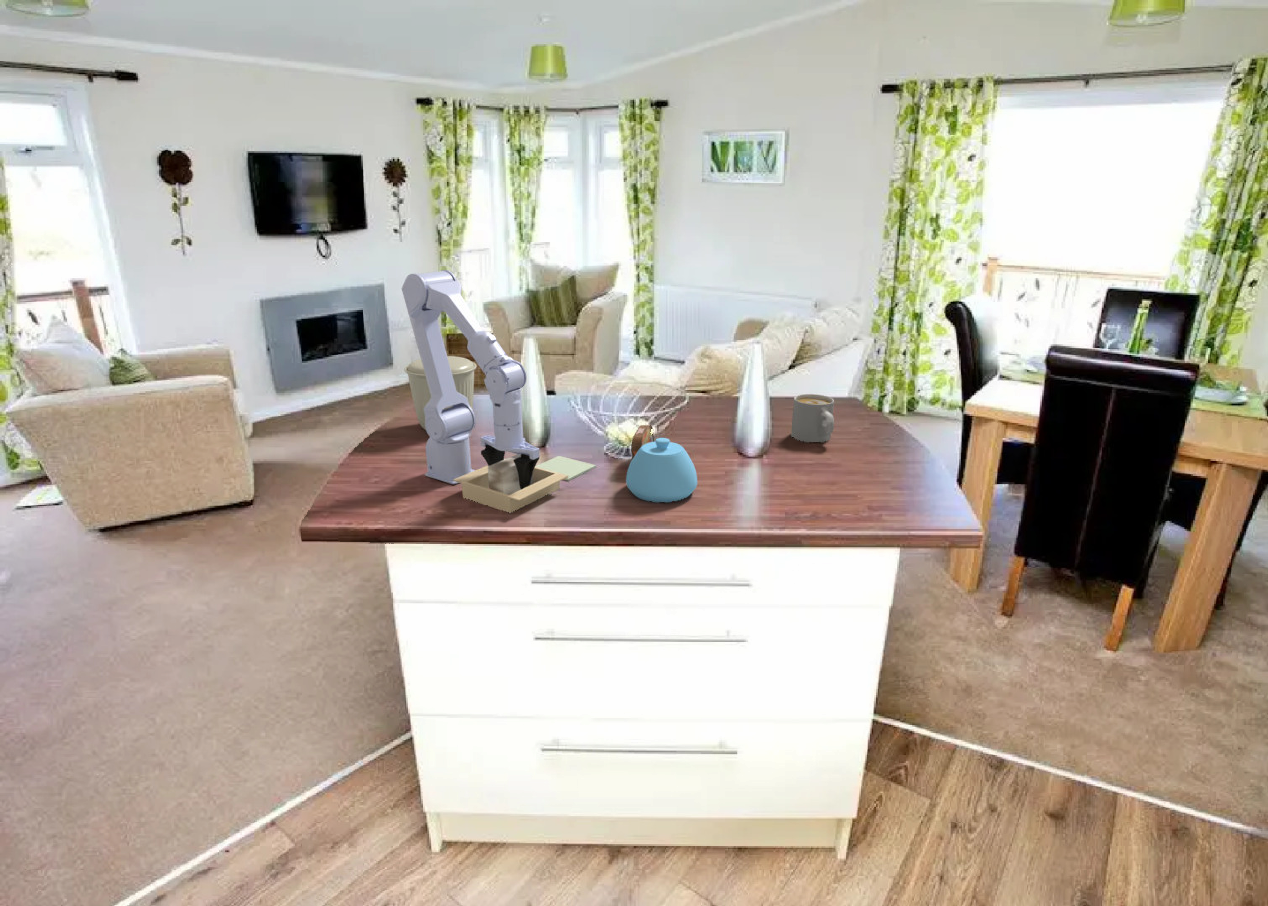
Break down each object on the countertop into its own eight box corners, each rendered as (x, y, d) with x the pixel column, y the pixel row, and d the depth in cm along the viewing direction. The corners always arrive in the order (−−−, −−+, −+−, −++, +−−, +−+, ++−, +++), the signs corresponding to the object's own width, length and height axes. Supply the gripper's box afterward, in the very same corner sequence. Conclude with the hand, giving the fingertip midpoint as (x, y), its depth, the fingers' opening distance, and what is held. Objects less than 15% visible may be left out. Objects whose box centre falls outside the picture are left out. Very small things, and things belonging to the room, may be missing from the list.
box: (489, 498, 151) (487, 466, 149) (519, 484, 158) (518, 453, 156) (504, 502, 149) (502, 470, 147) (533, 488, 156) (532, 457, 154)
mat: (530, 470, 166) (530, 468, 166) (558, 457, 174) (558, 455, 173) (568, 480, 160) (568, 478, 160) (596, 467, 168) (596, 465, 168)
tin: (643, 476, 163) (643, 440, 160) (629, 475, 164) (629, 439, 161) (654, 453, 177) (655, 420, 174) (642, 452, 177) (642, 419, 175)
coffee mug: (785, 431, 193) (788, 394, 190) (821, 429, 195) (825, 393, 191) (804, 448, 181) (807, 409, 177) (842, 446, 182) (846, 407, 179)
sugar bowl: (687, 475, 164) (689, 426, 160) (704, 503, 150) (707, 449, 146) (620, 479, 161) (620, 429, 157) (632, 507, 147) (632, 453, 143)
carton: (454, 495, 152) (453, 479, 151) (505, 473, 164) (504, 458, 163) (519, 516, 143) (519, 499, 142) (568, 491, 155) (568, 475, 154)
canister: (427, 415, 205) (420, 340, 197) (489, 418, 202) (484, 343, 195) (399, 436, 188) (390, 355, 181) (466, 439, 186) (460, 358, 178)
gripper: (548, 423, 148) (550, 485, 152) (495, 411, 155) (499, 471, 160) (524, 432, 142) (528, 496, 147) (471, 419, 150) (476, 481, 154)
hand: (511, 484), depth 153 cm, fingers open, 7 cm apart
